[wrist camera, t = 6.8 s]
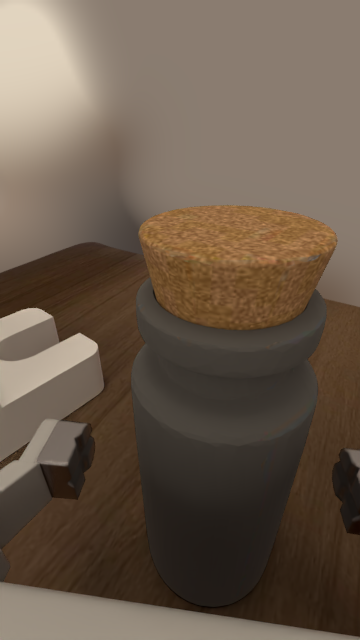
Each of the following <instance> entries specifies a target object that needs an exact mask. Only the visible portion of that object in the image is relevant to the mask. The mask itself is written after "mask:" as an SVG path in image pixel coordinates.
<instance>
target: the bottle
mask: <svg viewBox="0 0 360 640" xmlns="http://www.w3.org/2000/svg"><path fill="white" fill-rule="evenodd" d="M139 239H140V242H141V246H142V249H143V253H144V257H145V260H146V264H147V267H148V271H149V274H150V278H148V279H147V280H146V281H145V282H144V283H143V284H142V285H141V287H140V288H139V290H138V293H137V297H136V313H137V322H138V329H139V331H140V334H141V336H142V338H143V340H144V341H145V343H146V344H145V345H144V346H143V347H142V348H141V350H140V351H139V353H138V354H137V356H136V358H135V360H134V362H133V367H132V372H131V388H132V399H133V409H134V420H135V431H136V440H137V449H138V457H139V466H140V475H141V484H142V492H143V501H144V510H145V518H146V527H147V535H148V541H149V548H150V552H151V556H152V559H153V561H154V564H155V566H156V568H157V570H158V572H159V574H160V576H161V578H162V579H163V580H164V582H165V583H166V584H167V585H168V586H169V587H170V588H171V589H172V590H173V591H174V592H175V593H176V594H177V595H179V596H180V597H182V598H183V599H185V600H187V601H189V602H191V603H194V604H196V605H200V606H209V607H218V606H224V605H229V604H232V603H234V602H236V601H238V600H240V599H242V598H243V597H244V596H246V595H247V594H248V593H249V592H250V591H251V590H252V589H253V588H254V587H255V585H256V584H257V583H258V581H259V580H260V578H261V576H262V574H263V572H264V570H265V568H266V565H267V562H268V559H269V556H270V553H271V550H272V547H273V544H274V541H275V538H276V535H277V532H278V529H279V525H280V522H281V519H282V516H283V513H284V510H285V506H286V503H287V500H288V497H289V494H290V490H291V487H292V484H293V481H294V478H295V475H296V471H297V468H298V465H299V462H300V459H301V455H302V452H303V449H304V446H305V443H306V439H307V435H308V432H309V428H310V425H311V421H312V417H313V414H314V410H315V407H316V403H317V395H318V386H317V379H316V375H315V373H314V371H313V368H312V366H311V365H310V363H309V361H308V358H309V357H310V356H311V355H312V354H313V352H314V351H315V350H316V348H317V346H318V344H319V341H320V338H321V335H322V332H323V329H324V325H325V321H326V304H325V301H324V299H323V298H322V296H321V295H320V293H319V292H318V291H317V290H316V289H315V288H316V286H317V284H318V282H319V280H320V278H321V276H322V274H323V272H324V270H325V268H326V265H327V264H328V262H329V260H330V258H331V256H332V254H333V251H334V250H335V247H336V245H337V236H336V233H335V232H334V231H333V230H332V229H331V228H330V227H328V226H326V225H325V224H324V223H322V222H320V221H317V220H315V219H312V218H309V217H307V216H304V215H300V214H296V213H292V212H286V211H281V210H276V209H271V208H262V207H252V206H233V205H232V206H231V205H230V206H229V205H225V206H224V205H223V206H200V207H189V208H183V209H176V210H172V211H169V212H164V213H161V214H159V215H156V216H153V217H151V218H150V219H148V220H147V221H145V222H144V223H143V224H142V225H141V226H140V229H139Z"/></svg>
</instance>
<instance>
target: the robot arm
mask: <svg viewBox="0 0 360 640" xmlns="http://www.w3.org/2000/svg"><path fill="white" fill-rule="evenodd" d="M91 432H92V427H91V424H90V423H82V422H74V421H66V420H58V419H48V418H46V419H45V420H44V421H43V422H42V423H41V425H40V426H39V428H38V430H37V431H36V433H35V434H34V436H33V438H32V439H31V441H30V443H29V444H28V446H27V448H26V449H25V451H24V452H23V454H22V456H21V457H20V459H19V461H16V460H14V461H13V462H11V463H10V464H8V465H7V466H5V467H4V468H2V469H1V470H0V640H360V637H357V636H351V635H344V634H337V633H331V632H324V631H318V630H311V629H305V628H298V627H292V626H285V625H279V624H272V623H266V622H259V621H253V620H246V619H240V618H233V617H227V616H220V615H214V614H207V613H201V612H194V611H188V610H181V609H175V608H168V607H162V606H155V605H149V604H142V603H136V602H129V601H123V600H116V599H109V598H103V597H96V596H90V595H83V594H77V593H70V592H64V591H57V590H51V589H44V588H38V587H31V586H25V585H18V584H12V583H5V582H3V581H4V579H5V577H6V575H7V573H8V571H9V569H10V564H9V561H8V559H7V558H6V556H5V555H4V553H3V551H2V550H1V549H2V548H3V547H4V546H5V545H6V544H7V543H8V542H9V541H10V540H11V539H12V538H13V537H14V536H15V535H16V534H17V533H18V532H19V531H20V530H21V529H22V528H23V527H24V526H25V525H26V524H27V523H28V522H29V521H30V520H32V519H33V518H34V517H35V516H36V515H37V514H38V513H39V512H40V511H41V510H42V509H43V508H44V507H45V506H46V505H47V504H48V503H49V502H50V501H51V500H52V497H54V498H65V499H75V500H78V497H79V495H80V492H81V490H82V487H83V485H84V482H85V477H84V472H85V471H86V470H88V469H89V468H90V467H91V464H92V461H93V458H94V453H95V441H94V438H93V437H92V436H90V434H91ZM339 458H340V461H339V462H337V463H335V465H334V467H333V470H332V482H333V488H334V491H335V495H336V496H337V497H338V498H339V499H340V500H341V501H342V502H343V504H342V506H341V508H340V512H341V515H342V518H343V522H344V525H345V528H346V532H347V533H351V534H357V535H360V449H352V448H343V449H341V450H340V453H339Z"/></svg>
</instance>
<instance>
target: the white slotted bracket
mask: <svg viewBox="0 0 360 640" xmlns="http://www.w3.org/2000/svg"><path fill="white" fill-rule="evenodd" d="M103 388H104V381H103V375H102V369H101V363H100V357H99V351H98V345H97V344H96V343H95V342H94V341H92V340H91V339H89V338H87V337H86V336H84V335H82V334H81V333H78V334H76V335H74V336H72V337H70V338H68V339H66V340H64V341H62V342H59V338H58V334H57V330H56V326H55V322H54V318H53V316H51V315H49V314H48V313H46V312H44V311H43V310H41V309H38V308H29V309H24V310H21V311H19V312H16V313H14V314H11V315H9V316H6V317H4V318H1V319H0V462H1V461H2V460H4V459H5V458H6V457H8V456H9V455H11V454H12V453H14V452H15V451H17V450H18V449H20V448H21V447H22V446H24V445H25V444H27V443H28V442H30V441H31V439H32V438H33V436H34V434H35V433H36V431H37V430H38V428H39V426H40V425H41V423H42V422H43V421H44V420H45V419H46V418H48V419H58V420H62V419H63V418H65V417H66V416H68V415H69V414H71V413H72V412H74V411H75V410H76V409H78V408H79V407H81V406H82V405H84V404H85V403H87V402H88V401H90V400H91V399H93V398H94V397H95V396H97V395H98V394H100V393H101V392H102V390H103Z"/></svg>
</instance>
